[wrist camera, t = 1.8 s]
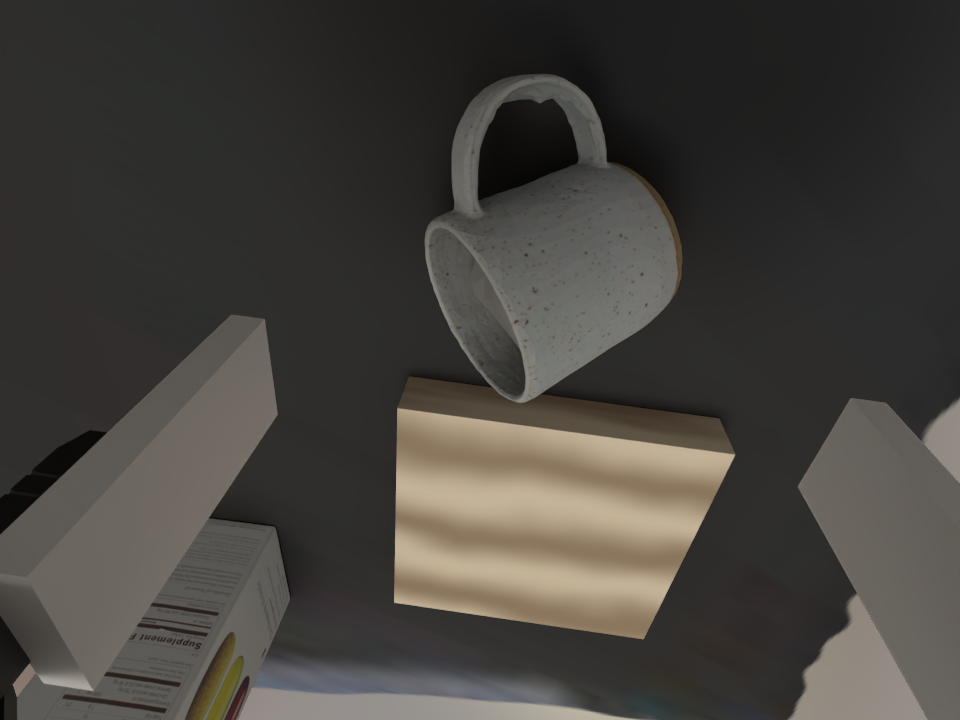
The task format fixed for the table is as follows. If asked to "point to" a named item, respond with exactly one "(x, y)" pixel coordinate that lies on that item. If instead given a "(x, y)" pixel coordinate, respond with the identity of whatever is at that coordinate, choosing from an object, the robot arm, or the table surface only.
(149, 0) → the table surface
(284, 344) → the table surface
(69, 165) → the table surface
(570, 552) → the square wooden tile
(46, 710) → the supplement box
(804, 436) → the table surface
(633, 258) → the ceramic mug
